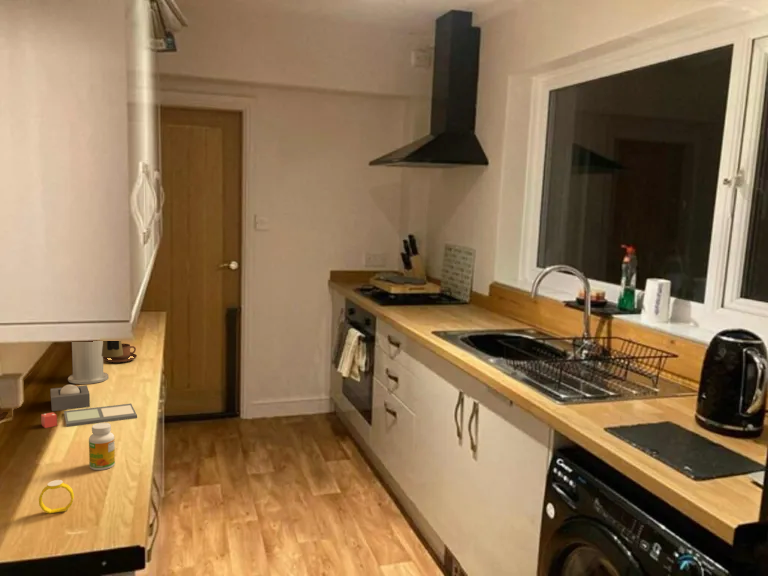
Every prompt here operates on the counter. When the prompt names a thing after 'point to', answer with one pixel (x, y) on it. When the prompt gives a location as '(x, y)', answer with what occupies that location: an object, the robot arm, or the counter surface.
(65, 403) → the gray square holder
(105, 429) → the supplement bottle
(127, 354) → the cup and saucer
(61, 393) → the cream white ball
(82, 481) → the counter surface
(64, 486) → the watch
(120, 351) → the brown pepper mill
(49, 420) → the red die
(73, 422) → the game board
